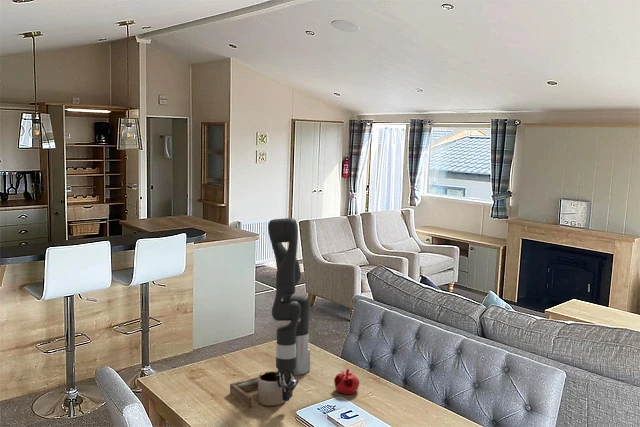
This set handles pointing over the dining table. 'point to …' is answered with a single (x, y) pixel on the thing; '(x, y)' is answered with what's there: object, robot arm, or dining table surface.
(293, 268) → the robot arm
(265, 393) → the planter
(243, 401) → the bay
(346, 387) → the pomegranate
